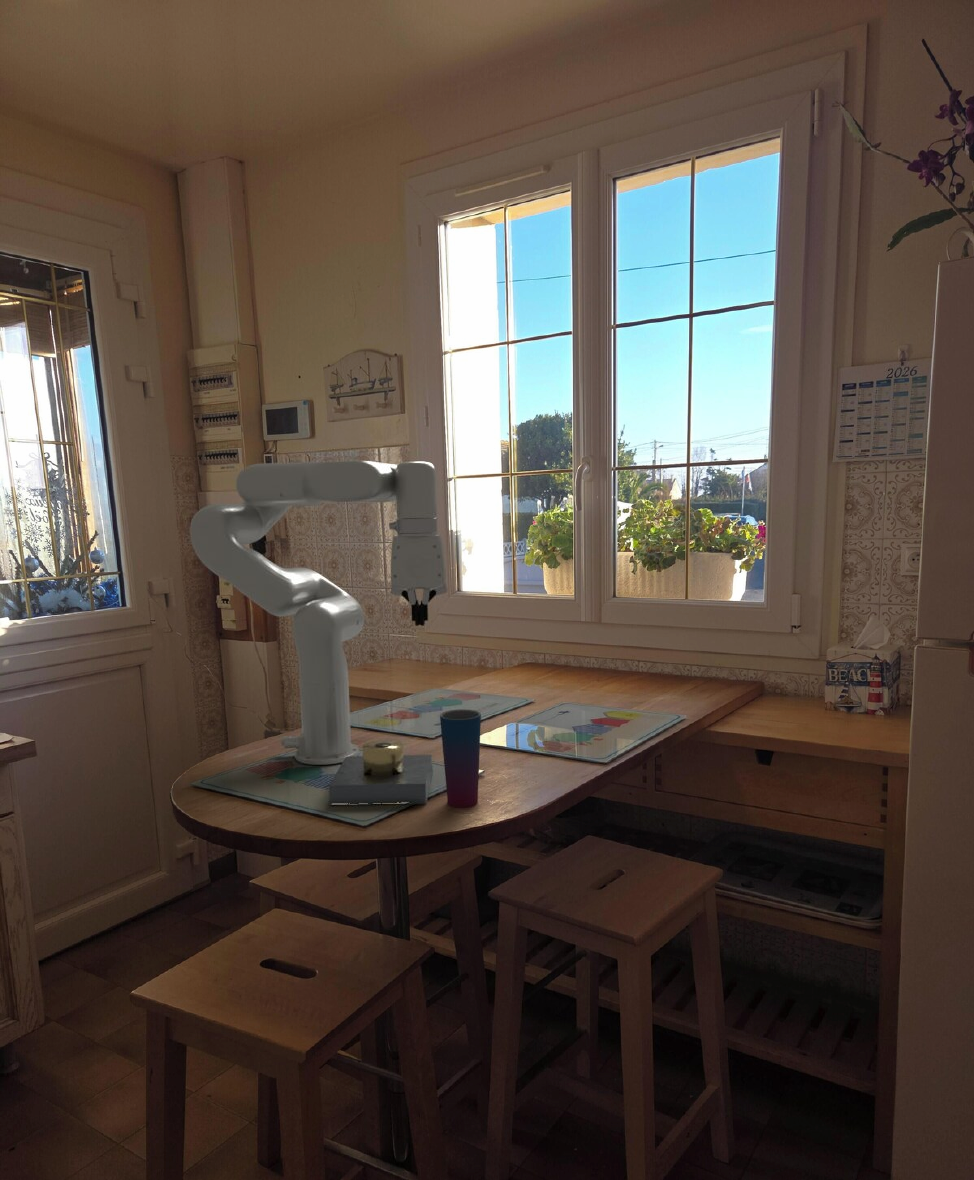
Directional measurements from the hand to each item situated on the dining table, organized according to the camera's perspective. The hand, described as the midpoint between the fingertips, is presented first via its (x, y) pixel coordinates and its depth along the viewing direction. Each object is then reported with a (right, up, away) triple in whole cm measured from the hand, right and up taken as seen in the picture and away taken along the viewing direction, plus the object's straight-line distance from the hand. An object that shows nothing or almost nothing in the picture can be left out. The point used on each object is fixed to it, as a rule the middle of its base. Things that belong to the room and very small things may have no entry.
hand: (420, 624), depth 154 cm
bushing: (-5, -28, -11) cm, 31 cm away
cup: (+9, -29, -19) cm, 36 cm away
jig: (-5, -28, -11) cm, 31 cm away
